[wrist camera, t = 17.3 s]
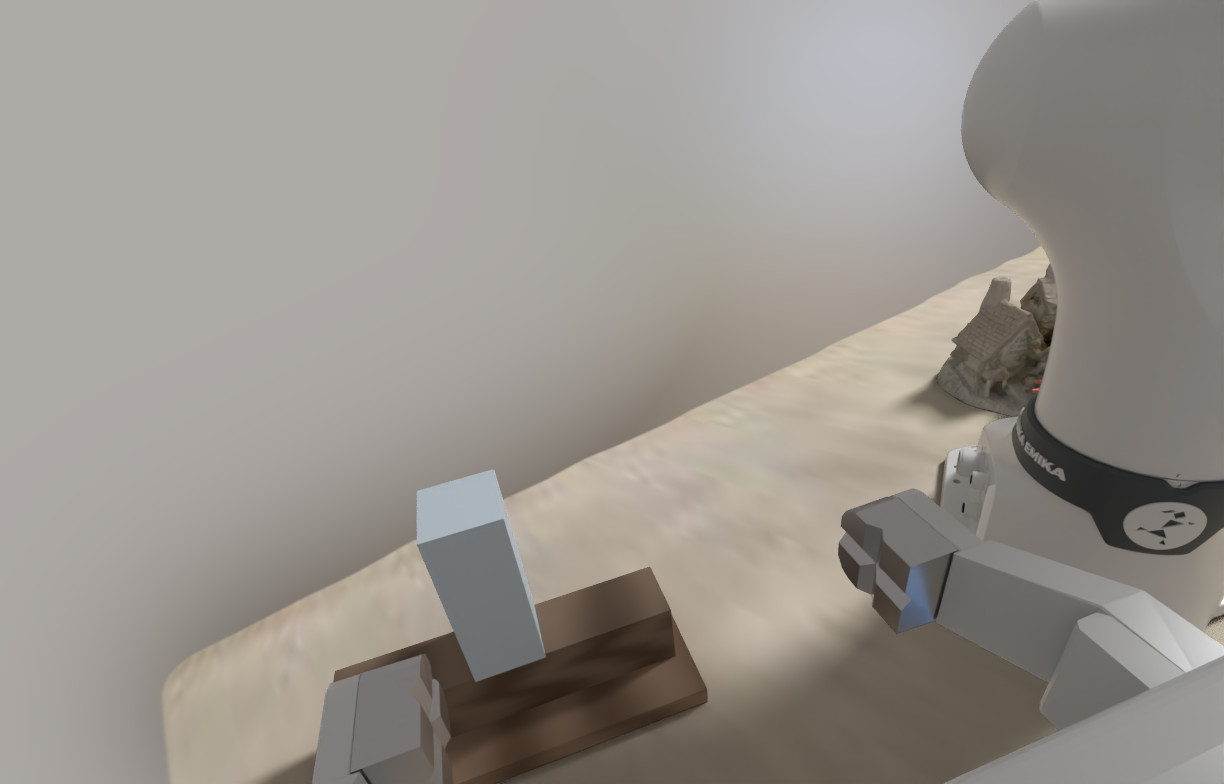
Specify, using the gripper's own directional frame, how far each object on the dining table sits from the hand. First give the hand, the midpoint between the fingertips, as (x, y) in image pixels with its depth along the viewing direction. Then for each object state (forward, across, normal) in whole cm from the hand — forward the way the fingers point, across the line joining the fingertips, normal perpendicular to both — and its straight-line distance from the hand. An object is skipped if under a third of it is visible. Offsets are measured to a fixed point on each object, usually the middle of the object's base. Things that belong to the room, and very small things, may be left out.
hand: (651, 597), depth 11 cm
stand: (+19, +6, +30) cm, 36 cm away
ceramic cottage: (+33, -55, +30) cm, 71 cm away
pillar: (+19, +5, +24) cm, 31 cm away
